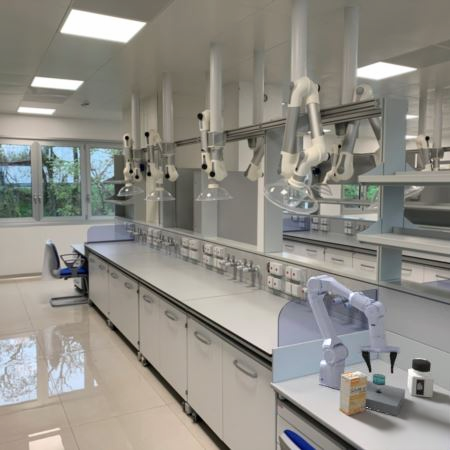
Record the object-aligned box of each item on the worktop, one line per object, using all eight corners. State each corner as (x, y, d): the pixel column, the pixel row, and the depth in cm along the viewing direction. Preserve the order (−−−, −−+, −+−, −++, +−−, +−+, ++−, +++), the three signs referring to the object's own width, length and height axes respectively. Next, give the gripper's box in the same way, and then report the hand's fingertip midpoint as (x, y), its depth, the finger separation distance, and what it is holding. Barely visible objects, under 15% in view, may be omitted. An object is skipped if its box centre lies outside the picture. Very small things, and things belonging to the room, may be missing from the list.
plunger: (370, 393, 163) (371, 376, 162) (373, 389, 166) (374, 372, 166) (383, 396, 160) (384, 379, 160) (385, 392, 164) (386, 375, 164)
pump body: (350, 403, 161) (350, 394, 161) (361, 387, 175) (362, 379, 174) (396, 416, 153) (397, 406, 152) (404, 398, 166) (405, 389, 166)
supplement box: (348, 416, 152) (350, 379, 151) (338, 410, 156) (340, 374, 155) (366, 411, 156) (368, 375, 155) (356, 405, 160) (358, 370, 159)
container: (432, 398, 167) (434, 364, 166) (411, 395, 169) (413, 362, 168) (427, 389, 175) (429, 357, 174) (407, 387, 176) (408, 355, 176)
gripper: (356, 337, 163) (359, 374, 162) (398, 338, 157) (401, 376, 156) (358, 333, 169) (361, 368, 169) (399, 333, 163) (402, 370, 163)
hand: (381, 372), depth 163 cm, fingers open, 7 cm apart
